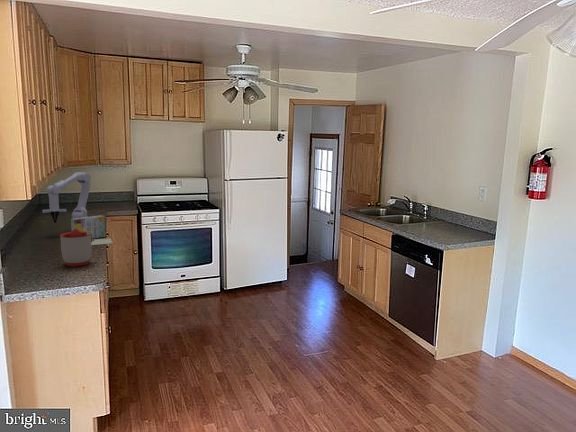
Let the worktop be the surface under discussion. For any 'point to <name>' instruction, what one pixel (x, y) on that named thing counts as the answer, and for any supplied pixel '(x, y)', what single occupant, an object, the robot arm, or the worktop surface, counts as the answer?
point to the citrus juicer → (76, 248)
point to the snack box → (90, 225)
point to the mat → (101, 241)
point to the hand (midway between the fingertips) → (55, 222)
